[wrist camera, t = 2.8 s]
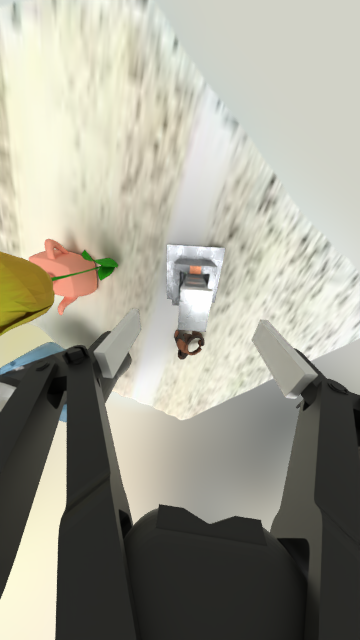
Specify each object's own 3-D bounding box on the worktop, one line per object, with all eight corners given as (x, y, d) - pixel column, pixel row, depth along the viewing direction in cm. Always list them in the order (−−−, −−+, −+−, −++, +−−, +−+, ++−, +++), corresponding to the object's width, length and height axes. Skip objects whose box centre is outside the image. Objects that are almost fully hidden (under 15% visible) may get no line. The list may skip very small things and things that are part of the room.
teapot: (97, 245, 35) (64, 246, 26) (101, 305, 44) (79, 322, 35) (52, 233, 34) (3, 230, 25) (66, 297, 43) (34, 311, 35)
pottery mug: (176, 321, 46) (187, 332, 39) (197, 324, 51) (211, 334, 44) (166, 351, 49) (176, 366, 42) (187, 351, 54) (199, 364, 47)
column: (184, 286, 37) (177, 329, 19) (185, 263, 34) (178, 289, 16) (199, 288, 37) (206, 332, 19) (202, 264, 34) (214, 291, 16)
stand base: (167, 296, 41) (159, 317, 30) (167, 244, 33) (156, 246, 23) (213, 300, 40) (221, 322, 29) (224, 247, 33) (239, 251, 22)
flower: (127, 281, 39) (4, 359, 13) (99, 273, 39) (-84, 338, 13) (129, 249, 35) (-49, 274, 9) (98, 239, 34) (-188, 237, 8)
